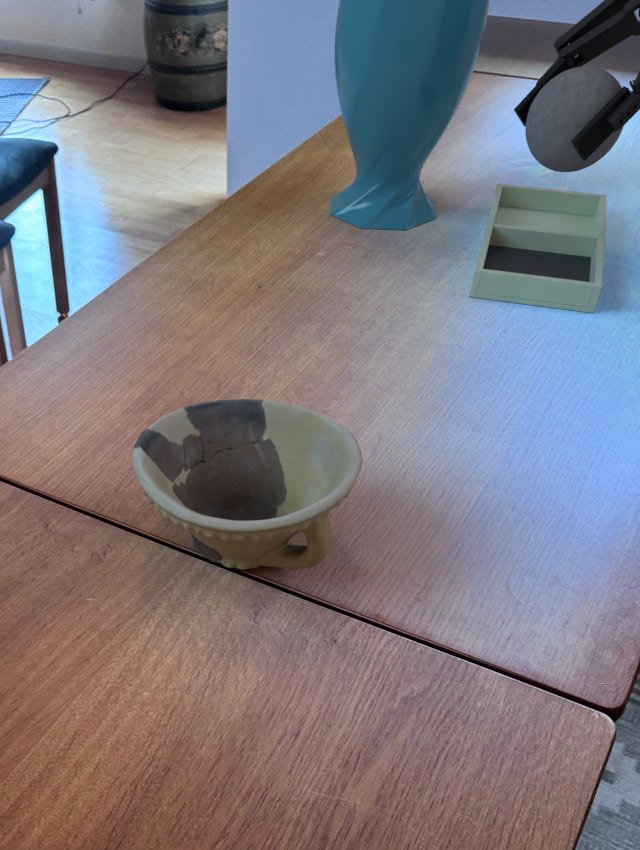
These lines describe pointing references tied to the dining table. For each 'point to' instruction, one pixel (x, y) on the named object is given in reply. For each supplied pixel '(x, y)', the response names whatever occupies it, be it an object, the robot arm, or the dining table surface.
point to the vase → (400, 98)
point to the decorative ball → (569, 117)
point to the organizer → (542, 248)
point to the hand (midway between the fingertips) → (548, 134)
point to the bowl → (249, 478)
